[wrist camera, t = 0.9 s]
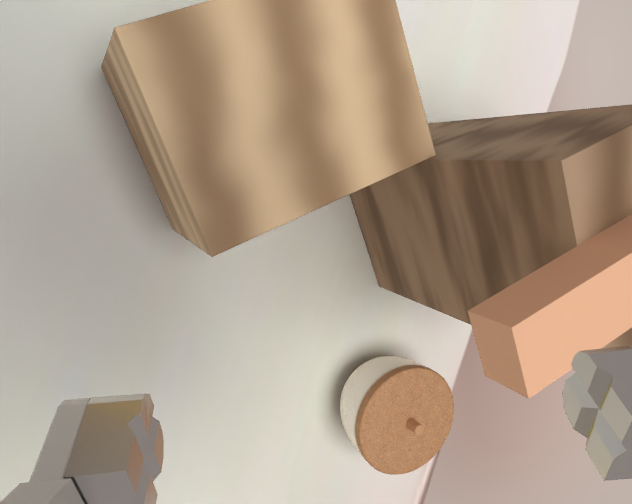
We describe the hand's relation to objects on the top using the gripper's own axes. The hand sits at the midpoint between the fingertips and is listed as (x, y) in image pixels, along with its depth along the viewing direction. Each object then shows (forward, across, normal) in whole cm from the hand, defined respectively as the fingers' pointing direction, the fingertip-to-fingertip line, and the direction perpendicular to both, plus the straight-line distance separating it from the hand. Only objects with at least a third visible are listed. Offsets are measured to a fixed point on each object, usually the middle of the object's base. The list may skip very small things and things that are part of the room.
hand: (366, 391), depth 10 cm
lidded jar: (+31, -6, +37) cm, 49 cm away
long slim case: (+17, -17, +11) cm, 26 cm away
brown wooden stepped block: (+39, -1, +14) cm, 41 cm away
